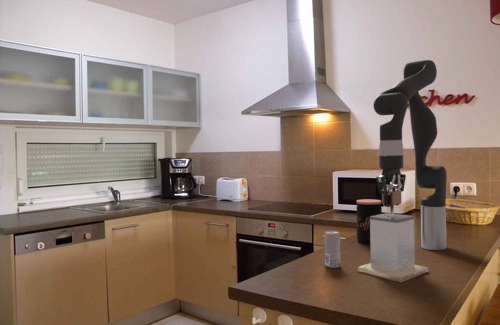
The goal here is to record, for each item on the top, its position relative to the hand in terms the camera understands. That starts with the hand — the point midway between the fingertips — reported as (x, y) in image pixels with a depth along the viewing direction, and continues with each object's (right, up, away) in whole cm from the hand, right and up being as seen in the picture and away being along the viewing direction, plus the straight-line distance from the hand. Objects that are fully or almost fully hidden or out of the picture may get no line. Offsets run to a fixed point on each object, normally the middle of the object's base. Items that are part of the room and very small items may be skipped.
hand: (391, 205), depth 138 cm
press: (+1, -22, +1) cm, 22 cm away
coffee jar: (+6, -21, +45) cm, 50 cm away
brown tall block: (0, -17, +1) cm, 17 cm away
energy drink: (-18, -22, +9) cm, 30 cm away
